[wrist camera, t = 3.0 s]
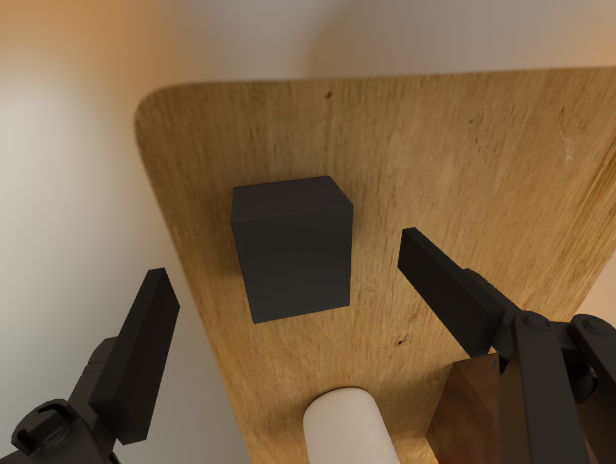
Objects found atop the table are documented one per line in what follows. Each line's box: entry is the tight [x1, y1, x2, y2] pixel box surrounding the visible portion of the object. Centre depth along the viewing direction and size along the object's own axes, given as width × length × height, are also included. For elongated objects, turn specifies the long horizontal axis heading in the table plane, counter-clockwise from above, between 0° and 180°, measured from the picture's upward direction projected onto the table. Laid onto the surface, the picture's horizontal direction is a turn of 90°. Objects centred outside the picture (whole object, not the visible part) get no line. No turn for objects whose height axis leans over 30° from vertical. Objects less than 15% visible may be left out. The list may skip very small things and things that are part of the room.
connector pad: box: [231, 176, 353, 324], centre depth 17 cm, size 7×6×4 cm
